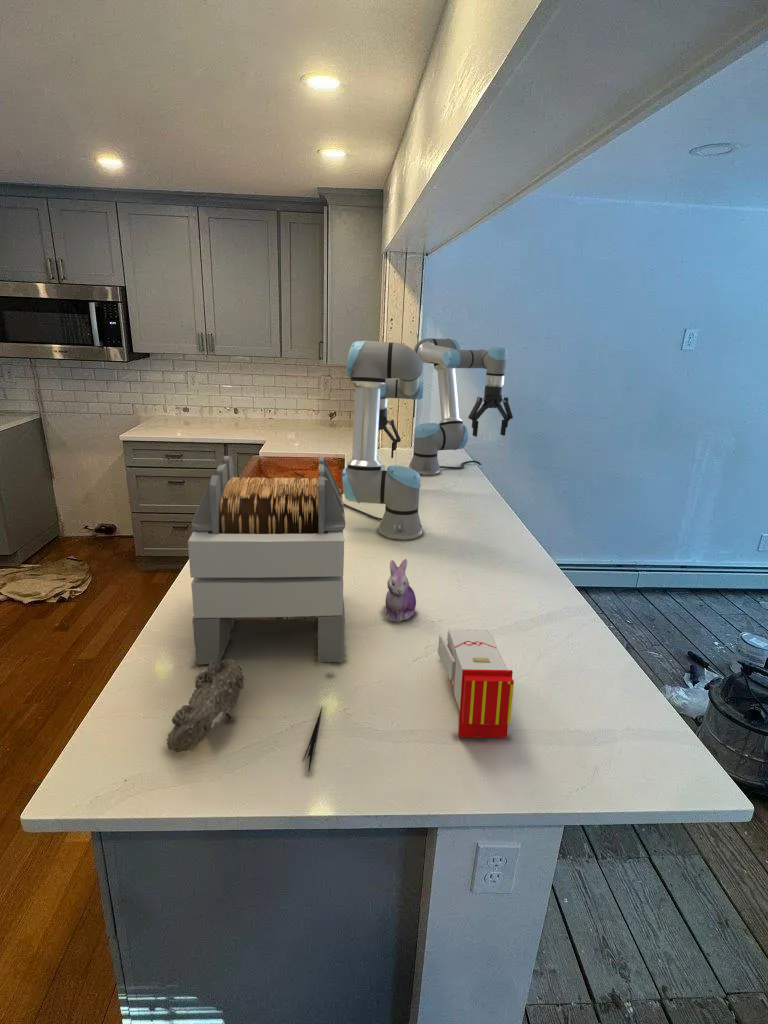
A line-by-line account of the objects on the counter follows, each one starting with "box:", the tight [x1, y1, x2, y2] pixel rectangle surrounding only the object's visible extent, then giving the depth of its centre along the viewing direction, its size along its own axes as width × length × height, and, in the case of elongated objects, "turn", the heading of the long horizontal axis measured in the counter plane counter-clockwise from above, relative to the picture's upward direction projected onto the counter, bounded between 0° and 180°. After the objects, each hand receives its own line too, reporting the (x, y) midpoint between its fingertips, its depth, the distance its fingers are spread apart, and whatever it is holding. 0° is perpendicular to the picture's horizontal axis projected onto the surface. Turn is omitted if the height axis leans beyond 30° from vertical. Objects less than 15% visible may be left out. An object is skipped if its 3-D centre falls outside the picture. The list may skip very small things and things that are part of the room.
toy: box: [437, 628, 515, 738], centre depth 117 cm, size 12×13×30 cm
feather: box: [301, 673, 332, 771], centre depth 108 cm, size 2×28×2 cm
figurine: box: [384, 558, 417, 623], centre depth 145 cm, size 9×10×15 cm
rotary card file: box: [187, 455, 346, 666], centre depth 133 cm, size 34×33×41 cm
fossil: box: [166, 658, 245, 754], centre depth 106 cm, size 22×10×15 cm
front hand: (376, 456), depth 247 cm, fingers open, 13 cm apart
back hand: (488, 435), depth 244 cm, fingers open, 13 cm apart
